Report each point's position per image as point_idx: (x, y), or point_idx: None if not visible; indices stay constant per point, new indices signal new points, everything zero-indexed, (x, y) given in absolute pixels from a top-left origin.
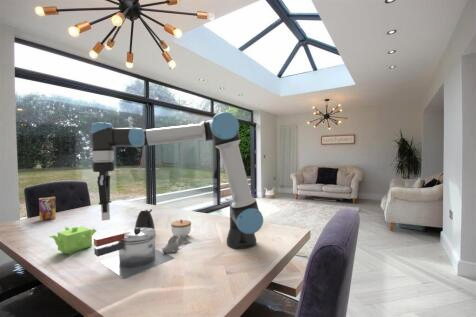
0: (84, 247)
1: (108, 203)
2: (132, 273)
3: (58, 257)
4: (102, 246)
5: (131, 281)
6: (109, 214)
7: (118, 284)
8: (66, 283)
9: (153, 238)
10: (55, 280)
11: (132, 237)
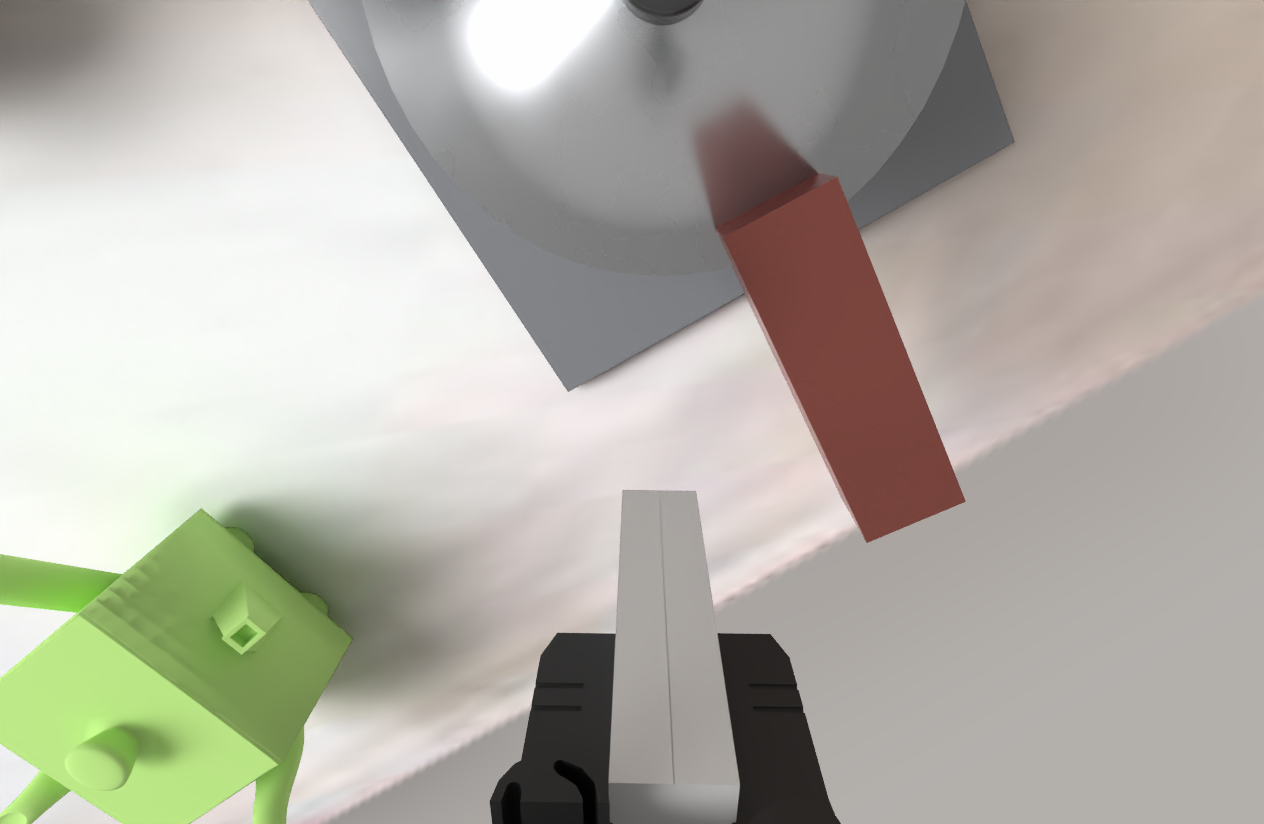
0: (247, 557)
1: (662, 795)
2: (950, 71)
3: (354, 668)
4: None
5: (1032, 76)
6: (654, 547)
7: (1023, 182)
8: (816, 523)
9: None
10: (740, 590)
11: (873, 41)
